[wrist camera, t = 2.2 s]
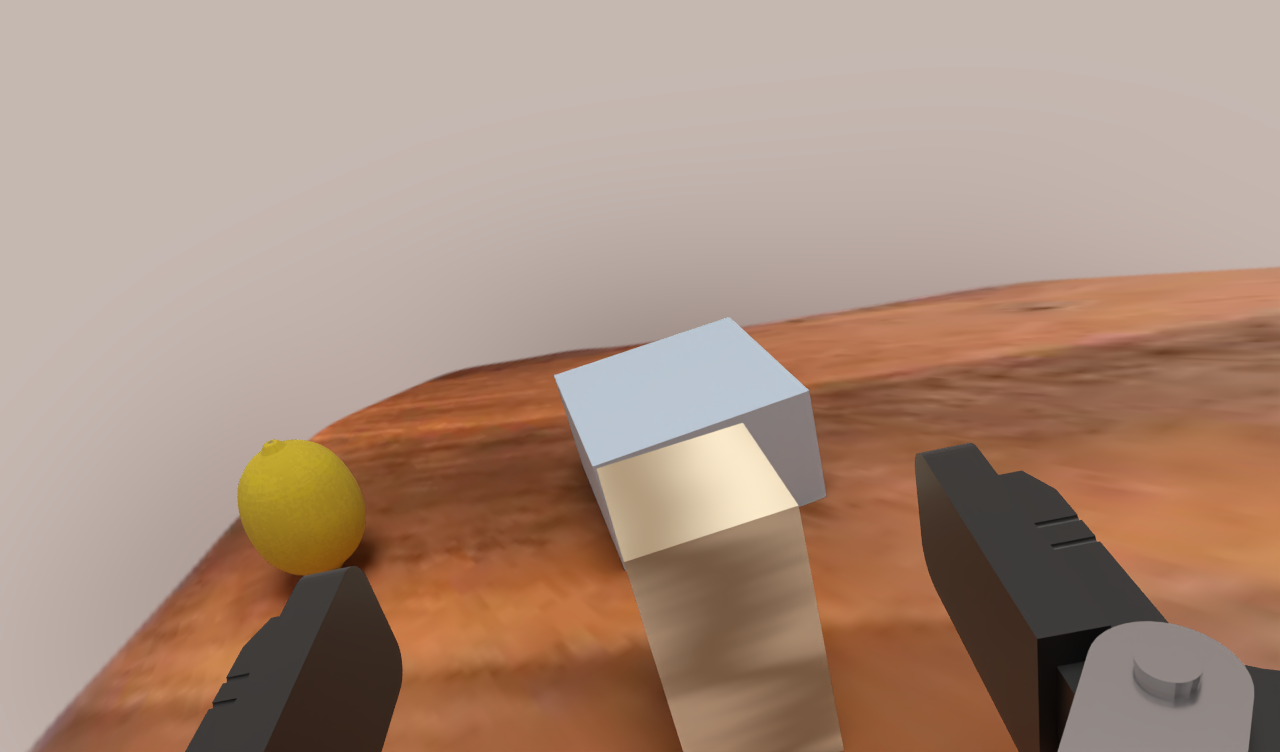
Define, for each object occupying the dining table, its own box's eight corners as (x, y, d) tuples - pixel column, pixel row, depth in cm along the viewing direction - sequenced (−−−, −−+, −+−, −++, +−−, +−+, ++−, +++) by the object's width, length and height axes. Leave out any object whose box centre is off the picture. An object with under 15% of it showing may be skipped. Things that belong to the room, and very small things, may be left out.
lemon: (402, 565, 42) (341, 432, 39) (296, 626, 40) (220, 491, 36) (369, 522, 47) (310, 400, 43) (271, 576, 44) (201, 450, 41)
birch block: (789, 644, 32) (742, 422, 27) (843, 750, 27) (798, 505, 23) (664, 686, 31) (596, 468, 27) (698, 801, 27) (624, 562, 22)
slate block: (748, 410, 48) (729, 317, 45) (827, 500, 39) (809, 390, 37) (583, 468, 47) (553, 375, 44) (626, 575, 38) (592, 466, 35)
